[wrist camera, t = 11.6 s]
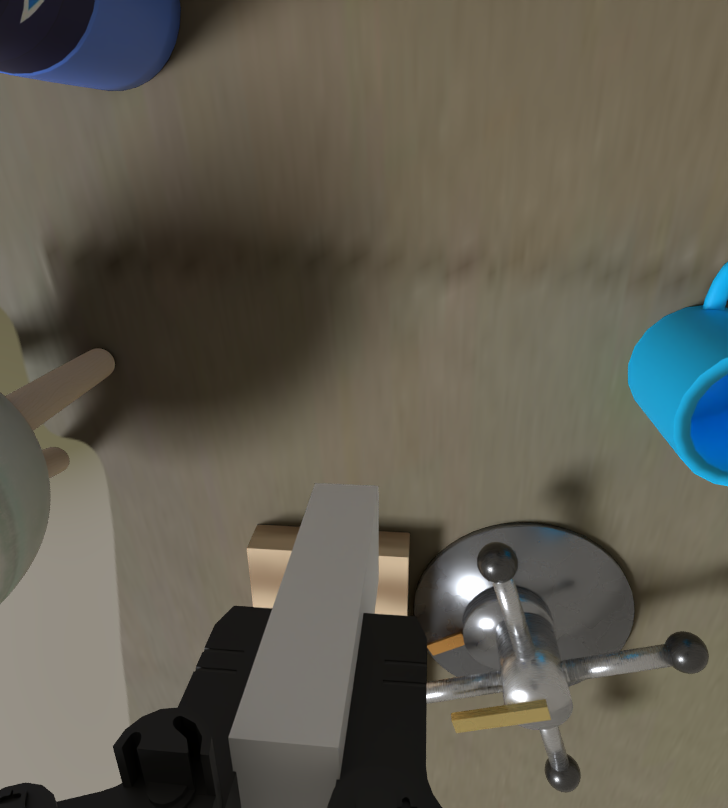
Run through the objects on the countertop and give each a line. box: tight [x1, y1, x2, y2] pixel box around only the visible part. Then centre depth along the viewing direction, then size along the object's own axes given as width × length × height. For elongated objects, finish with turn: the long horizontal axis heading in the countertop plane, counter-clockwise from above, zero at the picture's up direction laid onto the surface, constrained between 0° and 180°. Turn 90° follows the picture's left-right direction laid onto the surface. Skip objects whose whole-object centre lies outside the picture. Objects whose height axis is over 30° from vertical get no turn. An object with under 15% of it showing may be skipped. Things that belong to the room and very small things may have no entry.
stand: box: [247, 525, 410, 616], centre depth 48 cm, size 18×12×5 cm, turn 0°
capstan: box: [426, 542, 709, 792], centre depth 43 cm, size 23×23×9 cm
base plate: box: [414, 523, 634, 687], centre depth 47 cm, size 17×17×1 cm
